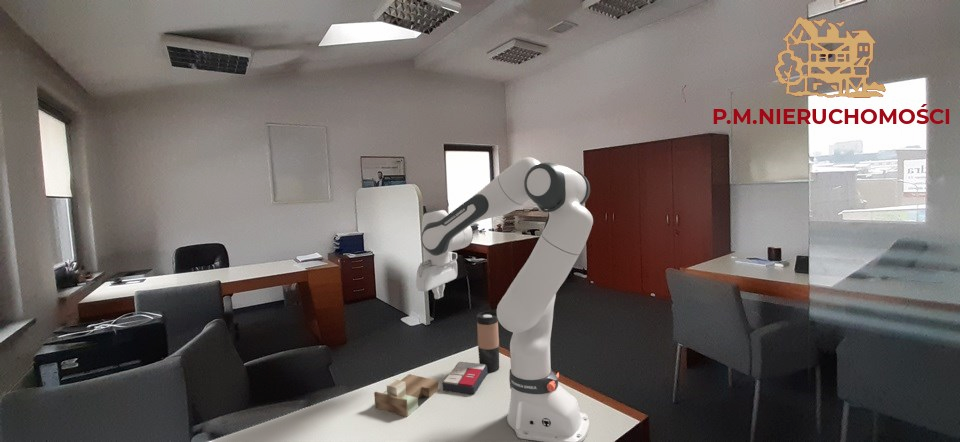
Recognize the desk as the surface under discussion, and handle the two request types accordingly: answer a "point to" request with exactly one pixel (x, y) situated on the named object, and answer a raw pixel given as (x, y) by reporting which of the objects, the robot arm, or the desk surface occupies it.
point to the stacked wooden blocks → (407, 396)
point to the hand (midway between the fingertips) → (438, 297)
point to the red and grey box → (465, 378)
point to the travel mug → (488, 340)
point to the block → (396, 388)
